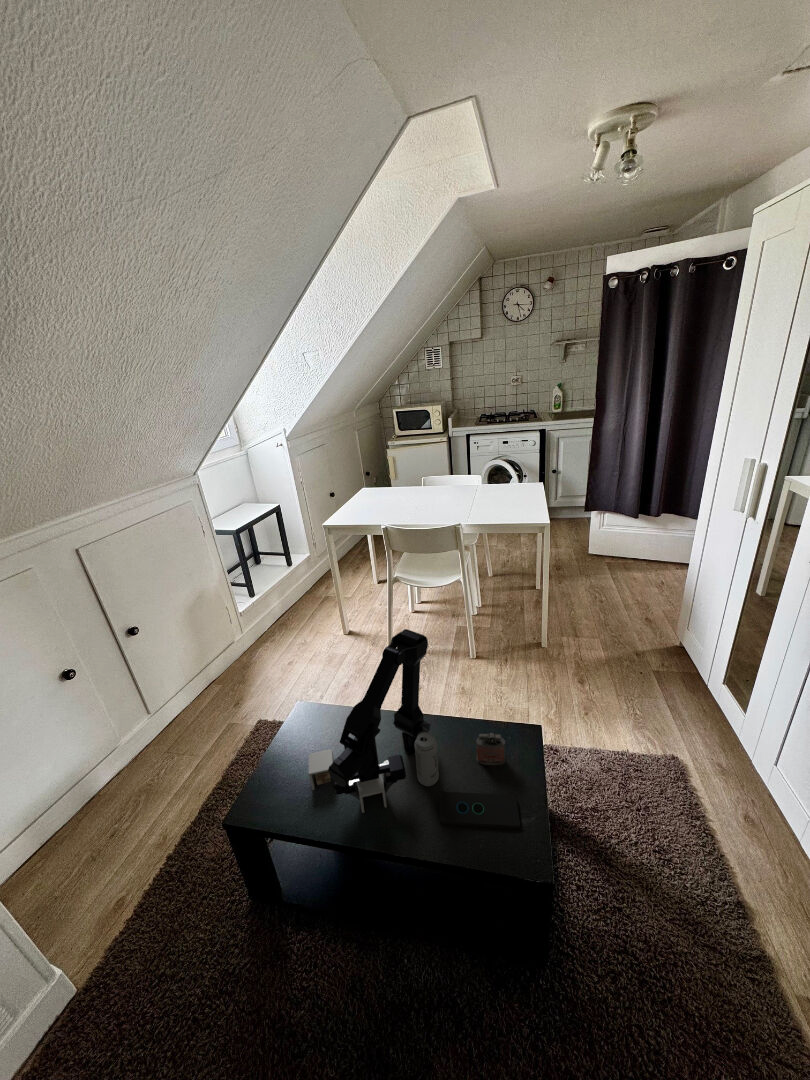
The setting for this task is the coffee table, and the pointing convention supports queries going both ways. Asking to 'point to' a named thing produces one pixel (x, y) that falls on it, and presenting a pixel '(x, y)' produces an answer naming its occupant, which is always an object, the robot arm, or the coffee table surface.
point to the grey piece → (319, 764)
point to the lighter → (490, 749)
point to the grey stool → (371, 789)
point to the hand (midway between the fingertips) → (372, 795)
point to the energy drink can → (426, 759)
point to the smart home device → (479, 810)
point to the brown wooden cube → (323, 777)
